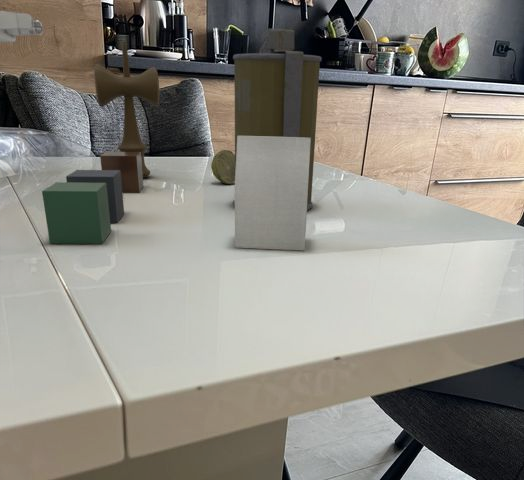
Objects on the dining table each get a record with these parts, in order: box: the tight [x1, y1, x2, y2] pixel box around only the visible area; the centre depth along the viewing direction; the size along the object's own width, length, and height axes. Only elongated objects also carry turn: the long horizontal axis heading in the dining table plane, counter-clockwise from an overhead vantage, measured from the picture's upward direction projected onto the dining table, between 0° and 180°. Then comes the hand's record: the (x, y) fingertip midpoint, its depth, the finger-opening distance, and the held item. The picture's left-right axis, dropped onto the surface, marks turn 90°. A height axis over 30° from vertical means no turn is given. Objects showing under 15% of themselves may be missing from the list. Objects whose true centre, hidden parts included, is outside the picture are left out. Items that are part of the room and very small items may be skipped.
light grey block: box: [234, 136, 311, 251], centre depth 52 cm, size 4×7×10 cm, turn 85°
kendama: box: [93, 39, 160, 178], centre depth 86 cm, size 6×10×20 cm, turn 102°
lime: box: [210, 149, 235, 185], centre depth 86 cm, size 4×5×5 cm
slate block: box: [65, 169, 125, 224], centre depth 62 cm, size 5×5×5 cm
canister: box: [232, 28, 323, 211], centre depth 67 cm, size 11×10×20 cm
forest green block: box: [41, 181, 112, 245], centre depth 54 cm, size 5×5×5 cm
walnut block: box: [99, 151, 144, 194], centre depth 79 cm, size 5×5×5 cm
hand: (37, 25), depth 79 cm, fingers open, 8 cm apart
